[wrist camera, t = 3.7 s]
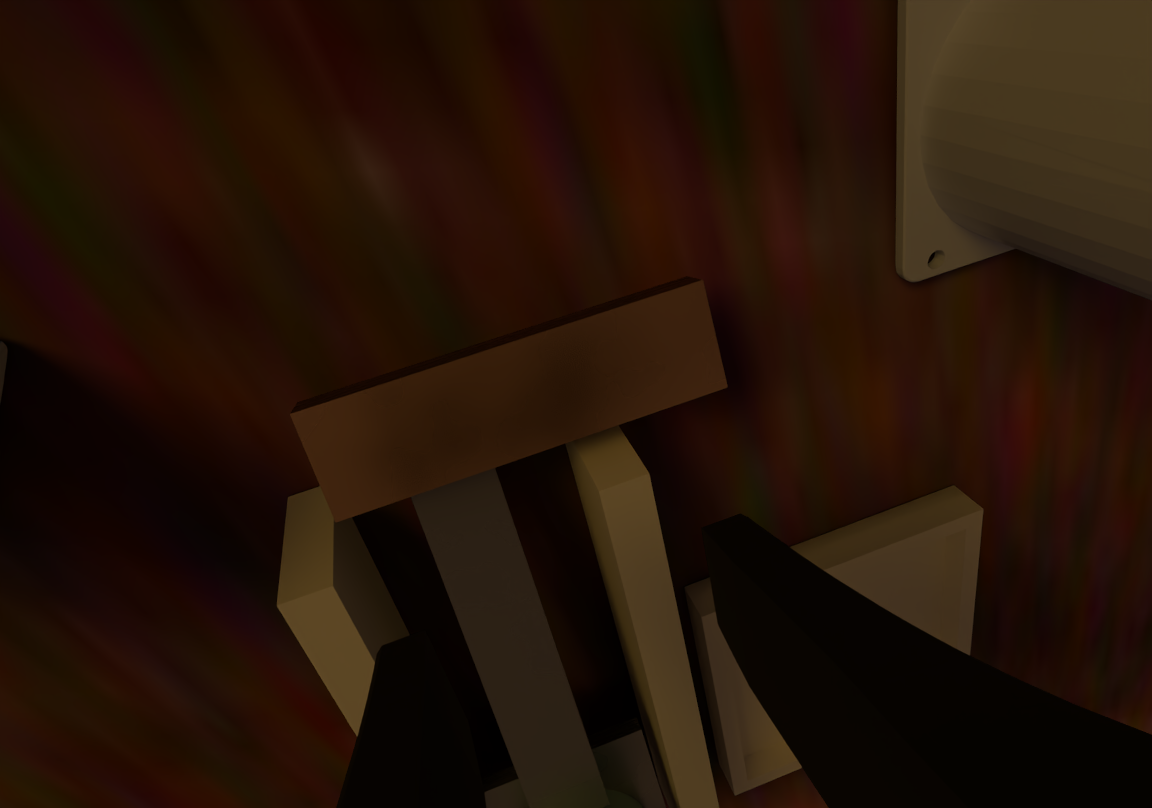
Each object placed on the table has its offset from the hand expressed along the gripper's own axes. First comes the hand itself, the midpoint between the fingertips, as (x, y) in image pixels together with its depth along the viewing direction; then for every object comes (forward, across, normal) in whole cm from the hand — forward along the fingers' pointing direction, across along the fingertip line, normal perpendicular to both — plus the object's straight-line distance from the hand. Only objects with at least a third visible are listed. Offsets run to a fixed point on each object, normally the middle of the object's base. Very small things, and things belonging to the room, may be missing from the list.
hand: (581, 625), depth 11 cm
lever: (+8, 0, +9) cm, 12 cm away
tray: (+9, -9, +15) cm, 20 cm away
